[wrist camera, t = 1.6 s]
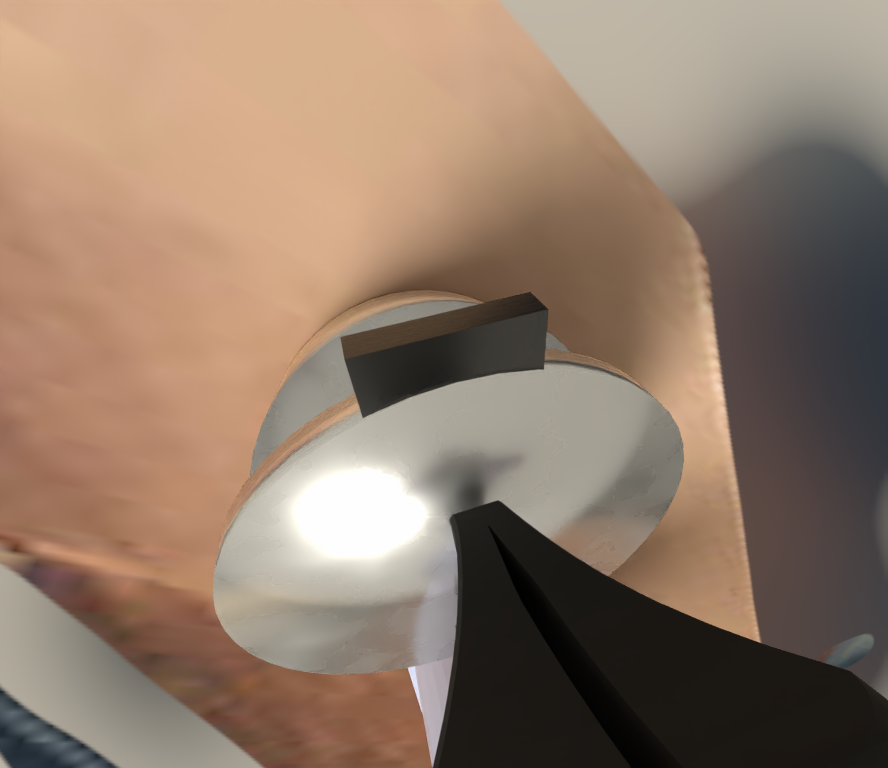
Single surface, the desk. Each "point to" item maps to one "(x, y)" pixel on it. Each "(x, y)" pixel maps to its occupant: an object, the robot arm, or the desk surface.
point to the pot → (324, 369)
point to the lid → (435, 486)
